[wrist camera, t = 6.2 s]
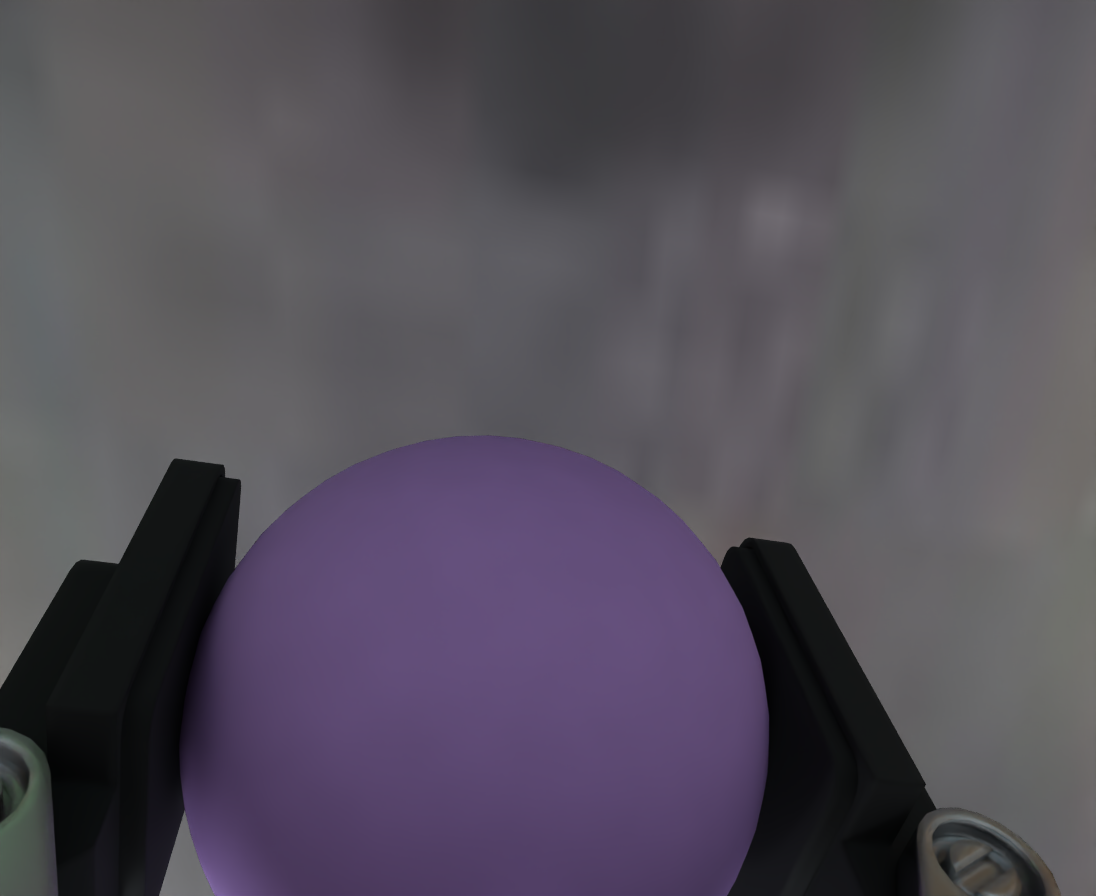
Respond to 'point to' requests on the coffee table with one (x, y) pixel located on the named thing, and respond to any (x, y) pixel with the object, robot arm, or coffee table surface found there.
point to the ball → (475, 690)
